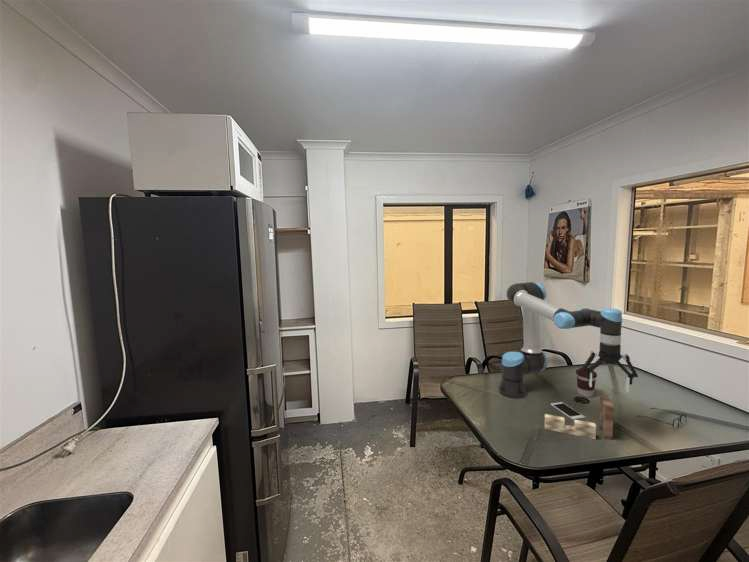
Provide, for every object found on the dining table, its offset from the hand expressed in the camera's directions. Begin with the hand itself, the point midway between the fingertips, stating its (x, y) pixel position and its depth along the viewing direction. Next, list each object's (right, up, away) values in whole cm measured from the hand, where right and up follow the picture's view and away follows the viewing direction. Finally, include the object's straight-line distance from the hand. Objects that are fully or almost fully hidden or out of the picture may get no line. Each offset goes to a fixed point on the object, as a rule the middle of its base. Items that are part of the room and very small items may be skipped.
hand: (608, 388), depth 142 cm
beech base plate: (-16, -22, +3) cm, 27 cm away
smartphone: (-6, -20, +21) cm, 30 cm away
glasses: (+34, -20, +11) cm, 41 cm away
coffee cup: (+15, -17, +38) cm, 44 cm away
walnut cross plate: (+1, -21, +3) cm, 21 cm away
